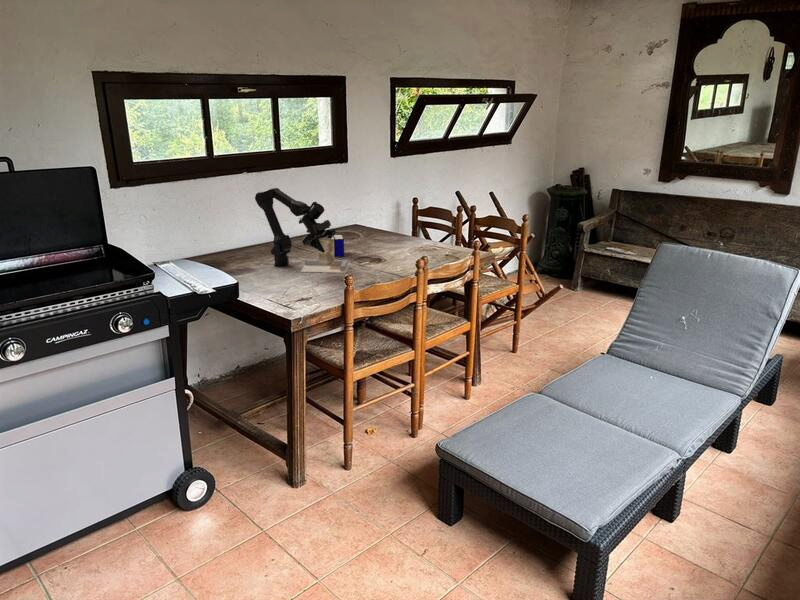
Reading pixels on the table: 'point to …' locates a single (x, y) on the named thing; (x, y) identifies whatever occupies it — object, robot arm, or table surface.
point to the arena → (326, 267)
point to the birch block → (327, 252)
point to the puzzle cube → (338, 245)
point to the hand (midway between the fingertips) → (328, 251)
